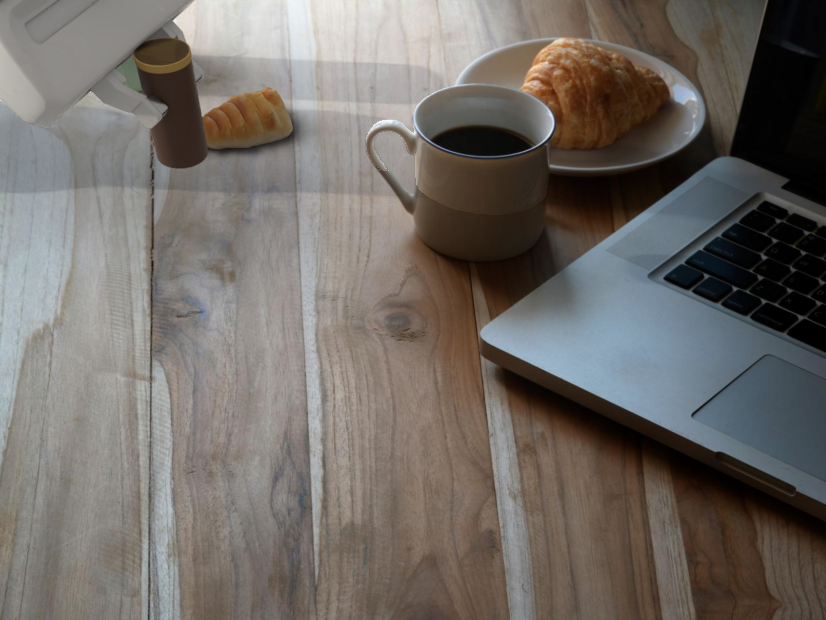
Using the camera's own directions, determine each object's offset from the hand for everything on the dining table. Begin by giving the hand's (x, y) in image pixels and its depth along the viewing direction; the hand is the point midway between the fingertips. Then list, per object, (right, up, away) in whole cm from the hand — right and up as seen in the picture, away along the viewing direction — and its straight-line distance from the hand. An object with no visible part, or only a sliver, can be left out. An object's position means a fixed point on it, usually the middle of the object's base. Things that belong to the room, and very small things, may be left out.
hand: (179, 102), depth 71 cm
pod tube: (-1, -3, +4) cm, 5 cm away
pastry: (0, +3, +24) cm, 24 cm away
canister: (-14, +11, +31) cm, 35 cm away
